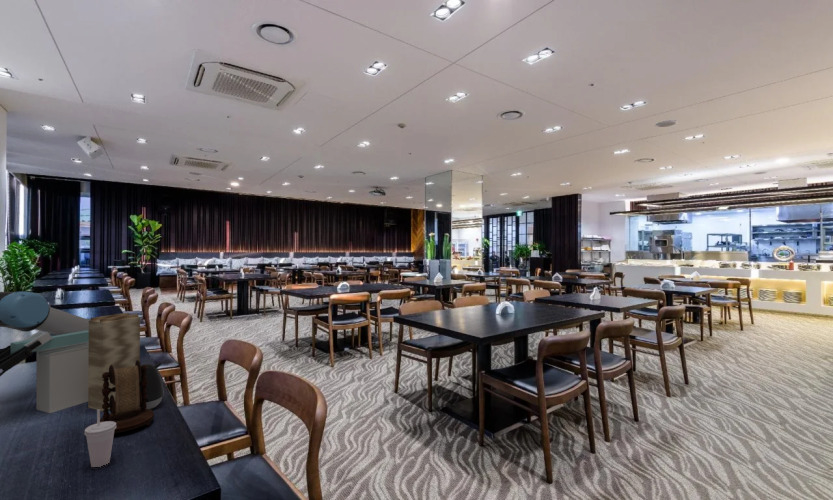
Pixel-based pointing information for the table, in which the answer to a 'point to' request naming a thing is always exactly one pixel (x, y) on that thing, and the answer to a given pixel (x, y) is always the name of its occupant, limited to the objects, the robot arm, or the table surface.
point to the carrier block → (62, 377)
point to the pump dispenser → (153, 386)
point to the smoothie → (100, 441)
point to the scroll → (126, 398)
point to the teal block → (55, 341)
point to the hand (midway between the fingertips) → (45, 334)
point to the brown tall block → (110, 351)
